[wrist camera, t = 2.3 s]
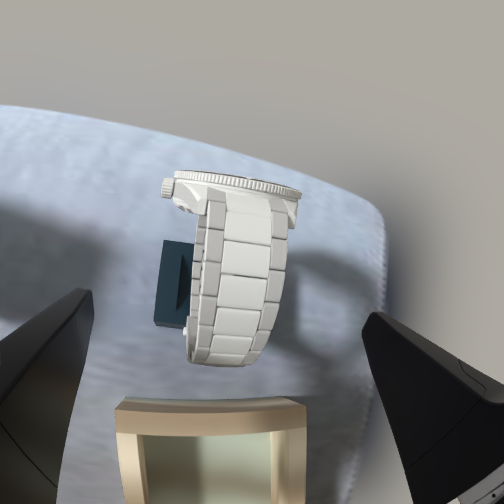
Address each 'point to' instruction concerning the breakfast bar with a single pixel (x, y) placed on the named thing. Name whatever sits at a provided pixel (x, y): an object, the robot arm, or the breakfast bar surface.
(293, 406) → the keyed holder
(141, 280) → the breakfast bar surface
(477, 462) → the robot arm
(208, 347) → the watch
